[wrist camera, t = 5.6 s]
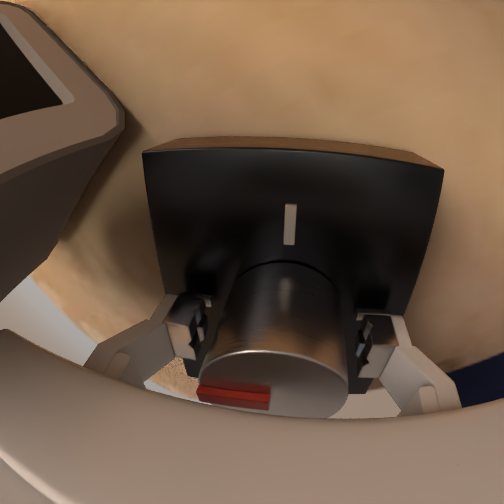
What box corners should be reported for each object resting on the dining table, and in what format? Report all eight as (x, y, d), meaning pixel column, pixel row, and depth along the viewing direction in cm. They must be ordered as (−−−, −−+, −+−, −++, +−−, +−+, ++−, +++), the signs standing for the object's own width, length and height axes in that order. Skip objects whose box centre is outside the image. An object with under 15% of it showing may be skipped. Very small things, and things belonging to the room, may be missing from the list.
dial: (348, 263, 9) (365, 364, 6) (333, 348, 11) (334, 437, 8) (222, 259, 10) (178, 350, 6) (234, 342, 12) (209, 426, 8)
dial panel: (361, 354, 16) (365, 396, 13) (202, 339, 17) (186, 378, 14) (413, 152, 10) (447, 170, 7) (176, 138, 11) (138, 152, 8)
